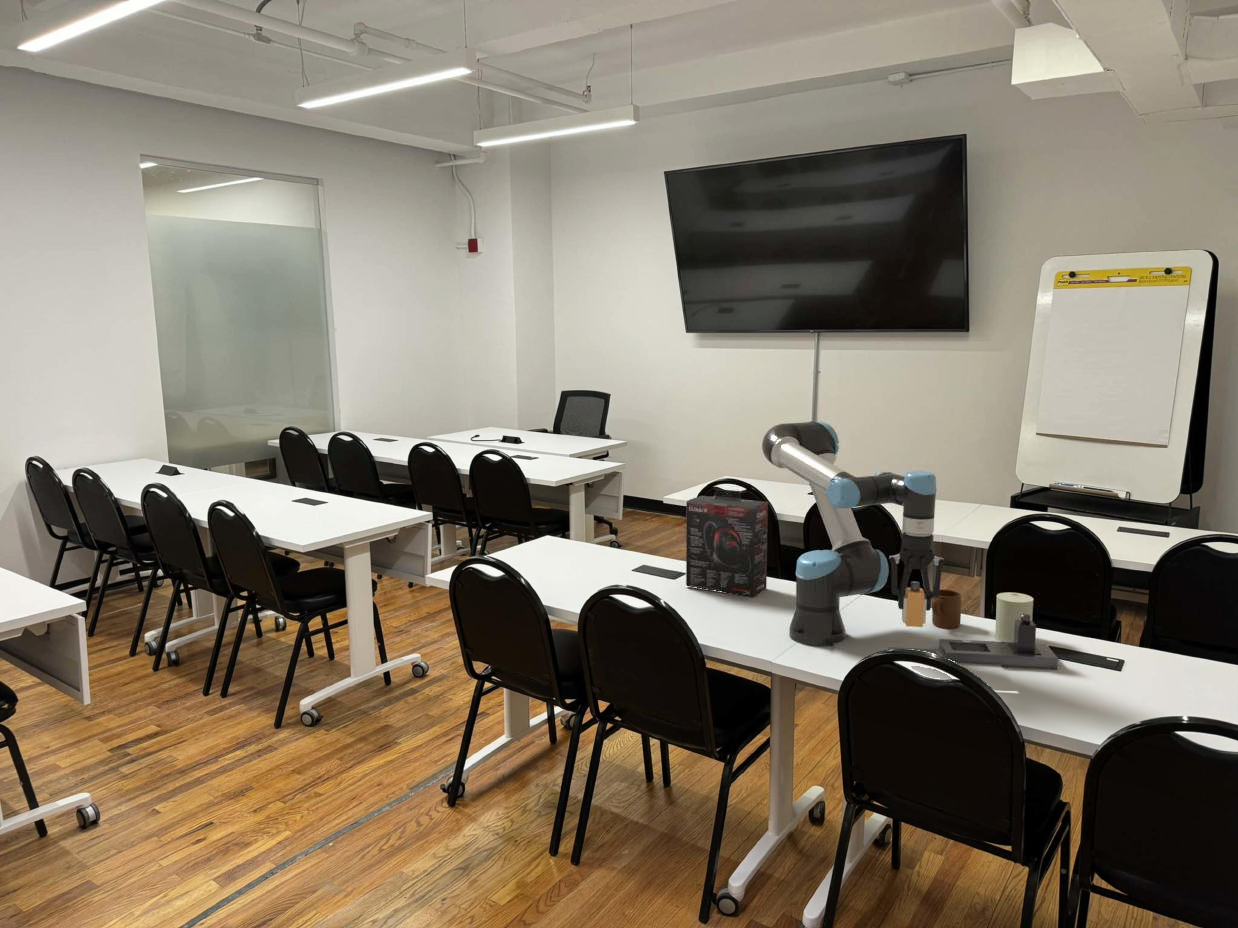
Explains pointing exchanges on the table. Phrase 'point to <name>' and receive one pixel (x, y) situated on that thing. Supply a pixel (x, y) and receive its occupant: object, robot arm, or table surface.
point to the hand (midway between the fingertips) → (913, 621)
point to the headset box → (726, 543)
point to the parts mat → (916, 649)
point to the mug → (947, 609)
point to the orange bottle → (915, 605)
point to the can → (1010, 613)
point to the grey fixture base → (1003, 649)
